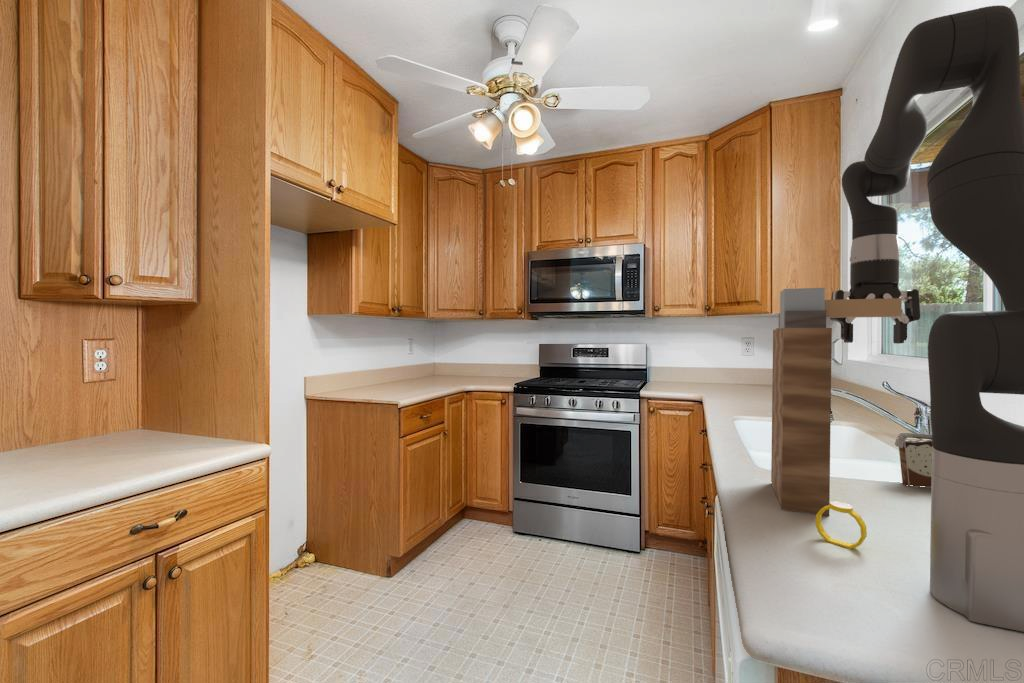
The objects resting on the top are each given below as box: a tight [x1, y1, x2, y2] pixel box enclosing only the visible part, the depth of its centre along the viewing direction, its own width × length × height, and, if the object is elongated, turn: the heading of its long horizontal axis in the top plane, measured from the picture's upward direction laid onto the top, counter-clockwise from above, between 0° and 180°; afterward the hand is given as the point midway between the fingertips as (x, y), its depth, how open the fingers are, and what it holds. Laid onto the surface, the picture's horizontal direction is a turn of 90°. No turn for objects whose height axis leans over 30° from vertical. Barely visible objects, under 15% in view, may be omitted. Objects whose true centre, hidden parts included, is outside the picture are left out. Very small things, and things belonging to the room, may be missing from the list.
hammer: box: [779, 287, 903, 329], centre depth 80 cm, size 6×17×7 cm, turn 66°
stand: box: [770, 310, 833, 517], centre depth 85 cm, size 16×7×35 cm, turn 156°
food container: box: [894, 432, 932, 488], centre depth 95 cm, size 12×6×10 cm, turn 84°
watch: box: [815, 500, 868, 550], centre depth 66 cm, size 6×3×6 cm, turn 38°
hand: (873, 343), depth 89 cm, fingers open, 8 cm apart
